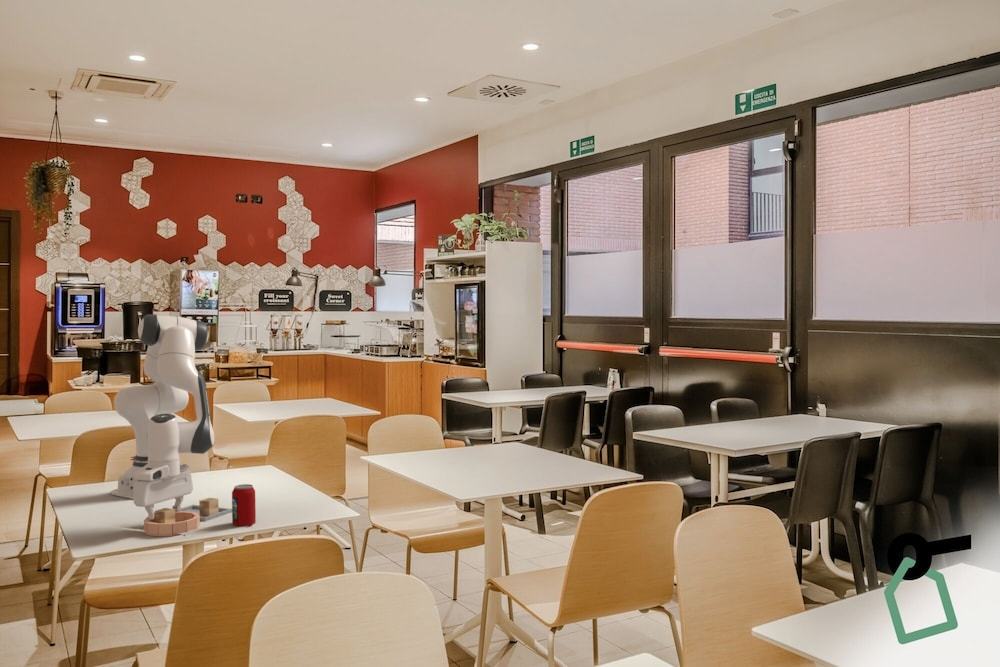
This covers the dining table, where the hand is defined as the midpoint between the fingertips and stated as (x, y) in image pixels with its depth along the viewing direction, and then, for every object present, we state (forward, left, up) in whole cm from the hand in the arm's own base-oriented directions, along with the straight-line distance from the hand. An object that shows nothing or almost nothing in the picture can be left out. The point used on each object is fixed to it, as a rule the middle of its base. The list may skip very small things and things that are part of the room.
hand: (164, 515), depth 242 cm
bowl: (+3, 0, -4) cm, 5 cm away
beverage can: (+20, +11, -4) cm, 23 cm away
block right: (+3, +15, -4) cm, 16 cm away
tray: (-1, +15, -4) cm, 16 cm away
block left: (0, 0, -4) cm, 4 cm away
